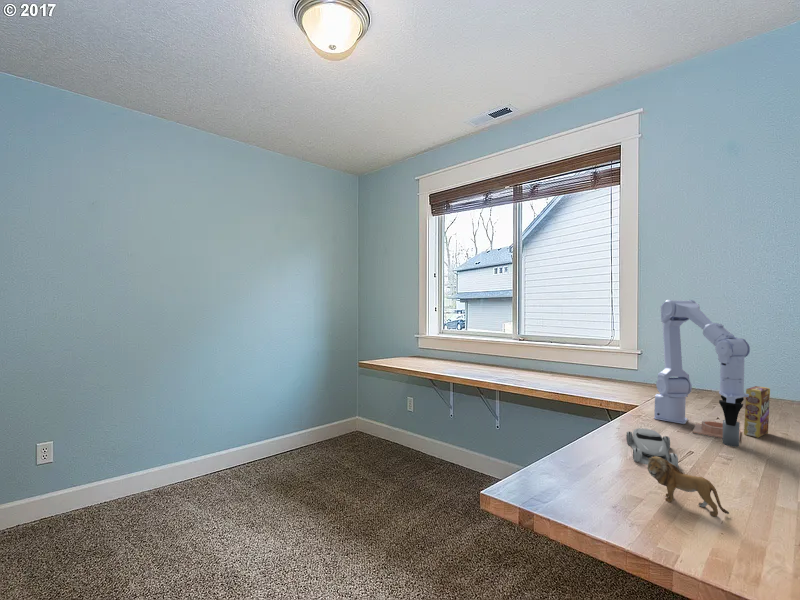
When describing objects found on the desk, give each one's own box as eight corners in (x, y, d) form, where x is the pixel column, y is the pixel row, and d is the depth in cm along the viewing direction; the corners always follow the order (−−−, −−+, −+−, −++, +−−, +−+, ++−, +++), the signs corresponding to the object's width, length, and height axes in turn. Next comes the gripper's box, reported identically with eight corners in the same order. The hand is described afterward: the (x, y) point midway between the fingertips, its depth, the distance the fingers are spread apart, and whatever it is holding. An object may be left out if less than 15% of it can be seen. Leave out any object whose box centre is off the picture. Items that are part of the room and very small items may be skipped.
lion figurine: (644, 498, 92) (645, 458, 92) (648, 489, 97) (649, 451, 96) (728, 521, 83) (729, 476, 83) (729, 510, 87) (730, 468, 87)
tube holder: (692, 432, 137) (692, 425, 137) (696, 424, 146) (696, 417, 146) (739, 441, 129) (739, 433, 129) (740, 432, 139) (740, 424, 139)
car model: (632, 464, 112) (632, 445, 112) (624, 436, 134) (625, 421, 134) (680, 471, 108) (681, 452, 108) (665, 441, 130) (665, 425, 130)
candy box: (760, 438, 132) (761, 391, 132) (743, 434, 136) (744, 388, 136) (769, 433, 137) (770, 387, 137) (753, 430, 141) (754, 385, 141)
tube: (722, 444, 127) (722, 421, 127) (722, 441, 130) (723, 418, 130) (738, 447, 124) (739, 424, 124) (739, 444, 127) (739, 421, 127)
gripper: (748, 383, 119) (748, 430, 119) (749, 376, 130) (748, 419, 130) (717, 380, 123) (717, 425, 123) (720, 373, 134) (720, 415, 134)
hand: (731, 422), depth 127 cm, fingers open, 7 cm apart
